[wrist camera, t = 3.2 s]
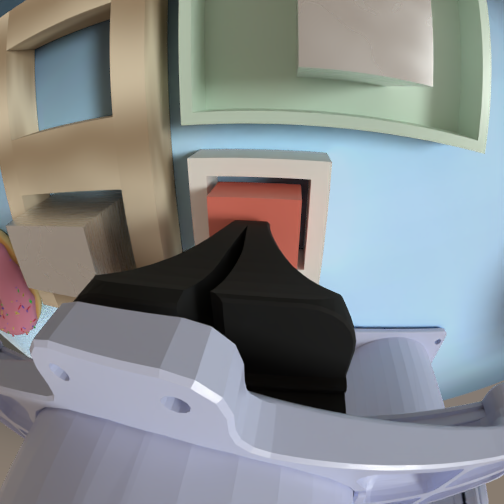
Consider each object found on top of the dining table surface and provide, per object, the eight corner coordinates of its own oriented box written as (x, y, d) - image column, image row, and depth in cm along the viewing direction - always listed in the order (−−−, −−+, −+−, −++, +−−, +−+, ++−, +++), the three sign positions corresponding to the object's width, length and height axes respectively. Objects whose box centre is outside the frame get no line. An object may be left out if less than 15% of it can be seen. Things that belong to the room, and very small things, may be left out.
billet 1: (145, 251, 18) (105, 302, 13) (71, 246, 18) (28, 287, 14) (134, 187, 16) (83, 226, 11) (58, 191, 16) (5, 225, 12)
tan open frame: (190, 302, 19) (178, 329, 17) (61, 284, 20) (43, 304, 18) (169, -38, 9) (148, -54, 7) (20, 22, 10) (-7, 22, 8)
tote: (459, 142, 12) (484, 153, 10) (199, 119, 13) (181, 125, 11) (456, -28, 7) (478, -41, 5) (199, -57, 8) (183, -77, 6)
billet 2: (382, -27, 8) (419, -70, 4) (385, 86, 11) (432, 87, 7) (294, -38, 8) (293, -91, 4) (296, 77, 11) (298, 66, 7)
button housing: (316, 263, 16) (318, 284, 15) (208, 256, 17) (198, 276, 15) (326, 152, 13) (331, 162, 12) (200, 149, 14) (187, 158, 12)
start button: (296, 257, 15) (295, 281, 13) (222, 252, 15) (212, 275, 13) (300, 184, 13) (302, 200, 11) (218, 181, 13) (206, 196, 11)
